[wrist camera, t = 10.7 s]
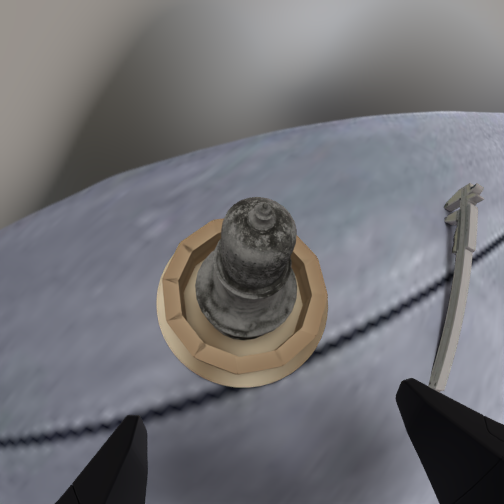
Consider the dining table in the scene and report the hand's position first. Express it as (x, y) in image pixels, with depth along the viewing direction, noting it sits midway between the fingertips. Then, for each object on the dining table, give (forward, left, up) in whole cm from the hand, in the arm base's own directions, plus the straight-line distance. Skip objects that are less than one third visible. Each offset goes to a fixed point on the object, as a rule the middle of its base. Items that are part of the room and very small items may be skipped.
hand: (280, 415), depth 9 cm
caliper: (-14, -13, -12) cm, 23 cm away
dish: (+3, -6, -11) cm, 13 cm away
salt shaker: (+3, -6, -10) cm, 12 cm away
